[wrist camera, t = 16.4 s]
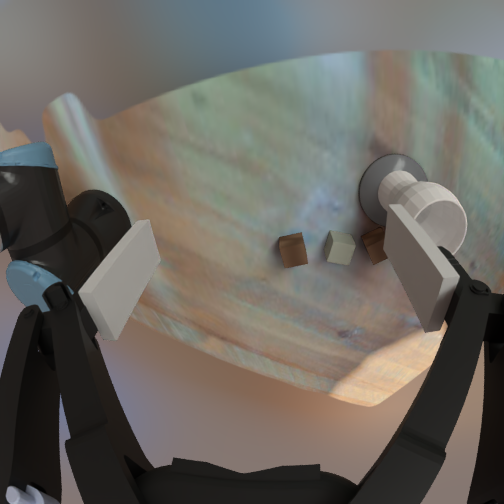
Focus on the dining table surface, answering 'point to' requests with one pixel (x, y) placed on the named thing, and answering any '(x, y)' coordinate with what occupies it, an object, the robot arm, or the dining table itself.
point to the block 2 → (339, 248)
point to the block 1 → (293, 250)
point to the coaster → (375, 177)
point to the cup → (427, 207)
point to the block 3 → (375, 245)
